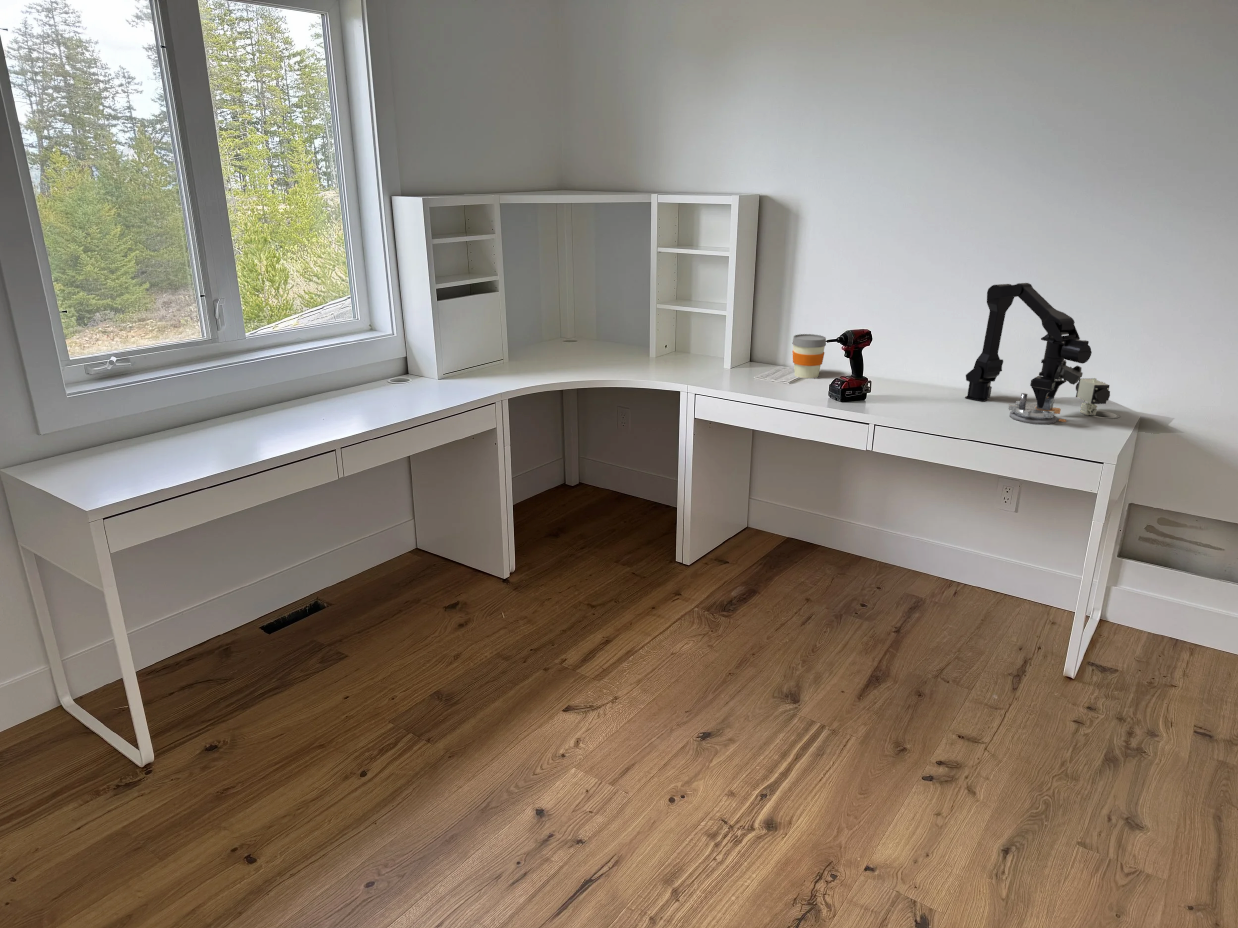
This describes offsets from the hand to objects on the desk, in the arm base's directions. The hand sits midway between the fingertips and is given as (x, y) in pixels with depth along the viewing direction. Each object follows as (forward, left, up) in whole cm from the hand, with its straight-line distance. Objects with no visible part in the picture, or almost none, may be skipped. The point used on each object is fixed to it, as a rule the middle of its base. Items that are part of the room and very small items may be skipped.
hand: (1045, 404), depth 264 cm
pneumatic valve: (+9, +17, -5) cm, 20 cm away
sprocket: (-3, -1, -4) cm, 5 cm away
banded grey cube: (0, 0, -1) cm, 1 cm away
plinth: (-2, -1, -5) cm, 5 cm away
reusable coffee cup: (-86, -1, -5) cm, 86 cm away
